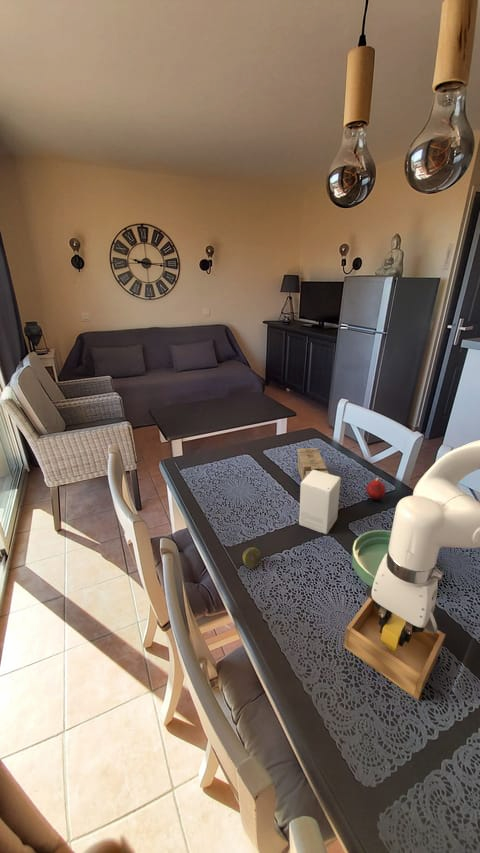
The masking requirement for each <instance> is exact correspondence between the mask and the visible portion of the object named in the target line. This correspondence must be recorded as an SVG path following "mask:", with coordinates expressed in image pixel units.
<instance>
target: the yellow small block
mask: <svg viewBox="0 0 480 853" xmlns="http://www.w3.org/2000/svg"><path fill="white" fill-rule="evenodd" d="M405 623H406V620H404V619H402V618H401V617H399V616H397V615H396V614H394V613H392V615H391V617H390V618H389V620H388V621H387V623H386V624H385V626H384V627H383V630H382V635H381V640H380V642H381V643H382V644H384V645H385V646H387V647H388V648H390V649H391V650H393V651H394V652H396V650H397V648H398V647H399V640H400V636H401V631H402V629H403V627H404V626H405Z"/></svg>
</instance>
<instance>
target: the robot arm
mask: <svg viewBox="0 0 480 853" xmlns="http://www.w3.org/2000/svg"><path fill="white" fill-rule="evenodd" d="M478 470H480V439H477V440H474V441H471V442H469V443H466V444H464V445H461V446H459V447H456V448H454V449H452V450H450V451H448V452H447V453H444V454H443V455H442V456H440V458H438V459H437V460H436V461H435V462H434V463H433V464H432V465H431V467H429V469H428V470H427V471H426V472H425V473H424V474H423V475H422V476H421V477H420V479H419V480H418V481H417V483H416V485H415V487H414V489H413V492H412V495H408V496H404V497H403V498H401V499H399V501H398V502H397V504H396V507H395V512H394V516H393V521H392V526H391V531H392V532H391V537H390V542H389V548H388V553H386V554H385V556H384V558H383V560H382V561H381V563H380V566H379V568H378V571H377V574H376V577H375V580H374V583H373V584H372V585H371V586H369V585H368V587H367V588H366V589H365V590H364V593H365V595H367V597H368V598H370V599H371V600H373V603H374V605H375V606H376V608H377V609H378V611H379V612H378V614H379V616H380V620H379V625H381V628H380V633H381V634H382V630H383V627H384V626H385V624H386V623H387V621H388V620H389V618H390V617H391V615H392V613H394V614H396V615H397V616H399V617H401V618H402V619H404V620H406V623H405V626H404V627H403V629H402V631H401V636H400V640H399V645H400V646H401V647H402V646H403V644H404V643H405V641H406V642H407V643H409V641H410V639H411V636H412V633H413V632H423V631H425V632H426V633H431V634H436V632H437V630H438V629H439V627H438V624H437V622H436V619H435V616H434V611H435V608H436V603H437V602H436V601H437V597H438V589H439V588H438V586H439V585H438V583H439V581H442V580H443V577H444V574H445V573H444V572H442V571H440V569H438V566H437V565H438V563H437V562H438V561H437V560H438V556H439V553H440V549H442V548H453V549H476V548H477V549H478V548H480V501H479V500H476V499H475V498H474V497H473V496H471V495H470V494H469V493H467V492H466V491H465V490H463V489H462V488H461V487H459V486H458V485H457V484H459V483H460V482H461V481H462V480H463V479H464V478H465V477H466V476H468V475H470V474H472V473H473V472H475V471H478Z"/></svg>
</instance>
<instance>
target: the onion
mask: <svg viewBox="0 0 480 853" xmlns="http://www.w3.org/2000/svg"><path fill="white" fill-rule="evenodd" d="M365 491H366V495H367V496H368V497H369V498H370V499H372V500H374V501H377V500H380V499H382V498H383V497H384V496H385V494H386V486H385V484H384V483H383V482H382V481H380V478H379V477H376V478H375V479H374V480H371V481H370V482H368V483H367V485H366V490H365Z"/></svg>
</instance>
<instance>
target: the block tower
mask: <svg viewBox="0 0 480 853" xmlns="http://www.w3.org/2000/svg"><path fill="white" fill-rule="evenodd" d="M327 468H328V467H327V466H326V464H325V462H324V460H323V458H322V455H321V453H320V451H319V448H318V447H305V448H297V471H298V473H299V476H300V480H301V482H302V481H303V480H304V479H305V478H306V477H307V476H308V475H309V473H310V472H311V471H312V470H317V471H320V472H324V473H327V474H330V473H329V470H328V469H327Z"/></svg>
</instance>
